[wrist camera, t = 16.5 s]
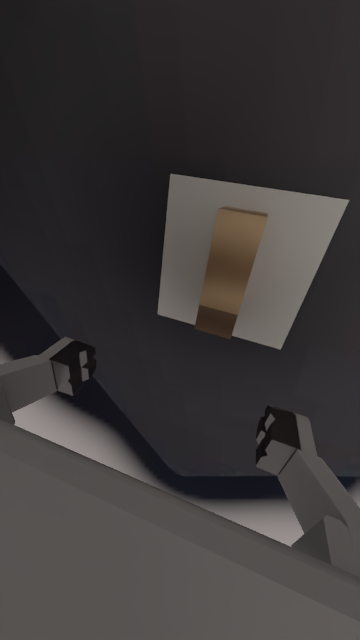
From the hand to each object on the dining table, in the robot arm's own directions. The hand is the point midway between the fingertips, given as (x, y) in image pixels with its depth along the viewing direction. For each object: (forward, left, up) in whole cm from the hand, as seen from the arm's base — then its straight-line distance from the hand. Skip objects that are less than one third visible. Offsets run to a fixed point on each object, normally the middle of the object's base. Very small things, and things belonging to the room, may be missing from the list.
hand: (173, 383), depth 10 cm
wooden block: (0, 0, -18) cm, 18 cm away
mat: (0, 0, -18) cm, 18 cm away
